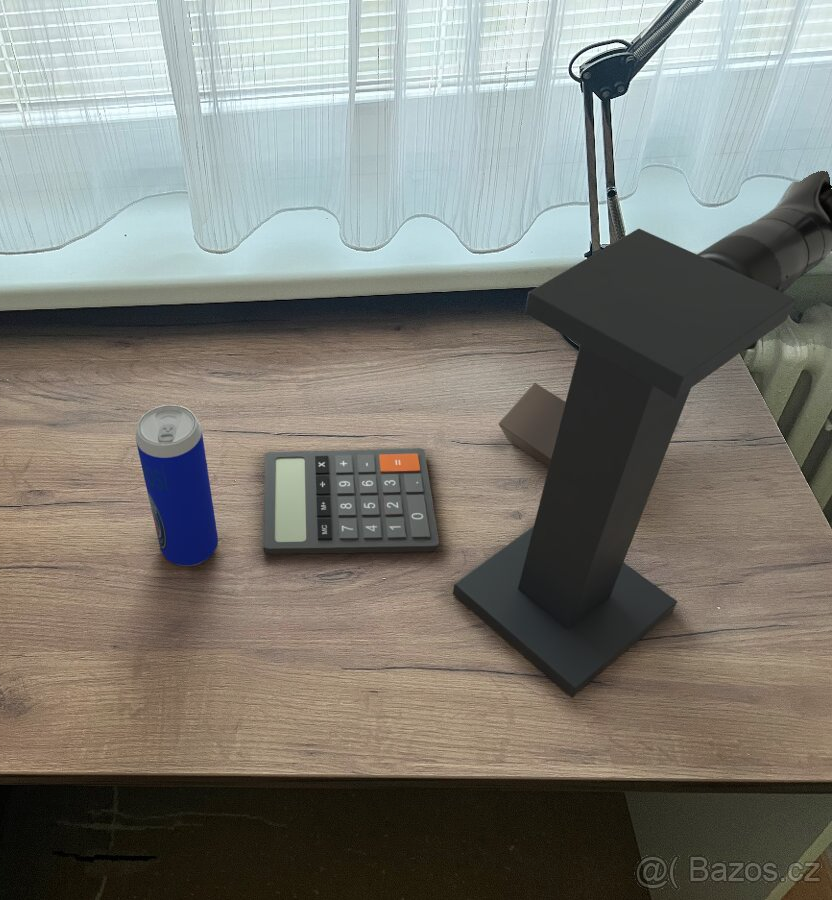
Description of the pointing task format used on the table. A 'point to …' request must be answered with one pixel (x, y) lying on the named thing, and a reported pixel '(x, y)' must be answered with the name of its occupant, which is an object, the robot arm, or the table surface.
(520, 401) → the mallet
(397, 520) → the calculator
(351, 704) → the table surface
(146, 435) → the beverage can
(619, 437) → the stand
